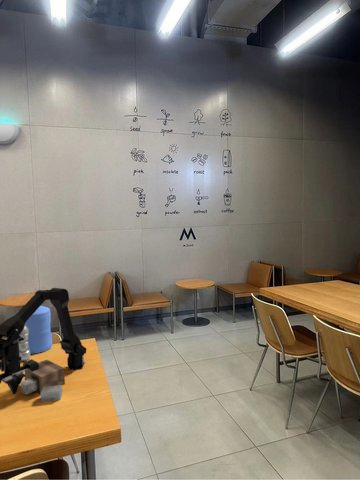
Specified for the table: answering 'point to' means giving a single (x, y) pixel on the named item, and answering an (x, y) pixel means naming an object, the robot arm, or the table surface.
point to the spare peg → (51, 393)
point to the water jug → (39, 330)
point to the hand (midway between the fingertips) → (14, 394)
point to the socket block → (47, 374)
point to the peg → (29, 385)
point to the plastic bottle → (24, 345)
